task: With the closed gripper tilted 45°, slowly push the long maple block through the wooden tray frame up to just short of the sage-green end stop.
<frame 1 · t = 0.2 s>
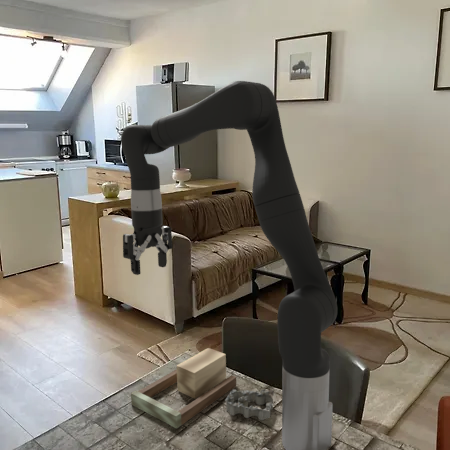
hand: (149, 270, 117), 29 cm above the table, tool pointing down, fingers open, 8 cm apart
maple block: (202, 384, 118), on the table
egg carton: (249, 411, 107), on the table
wooden tray frame: (187, 393, 113), on the table
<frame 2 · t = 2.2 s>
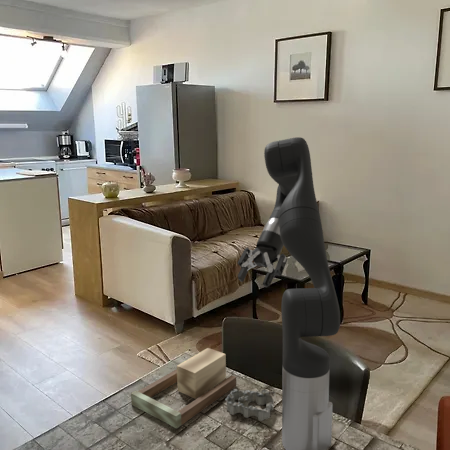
hand: (252, 283, 131), 21 cm above the table, tool tilted 45°, fingers open, 8 cm apart
nothing on the table moved.
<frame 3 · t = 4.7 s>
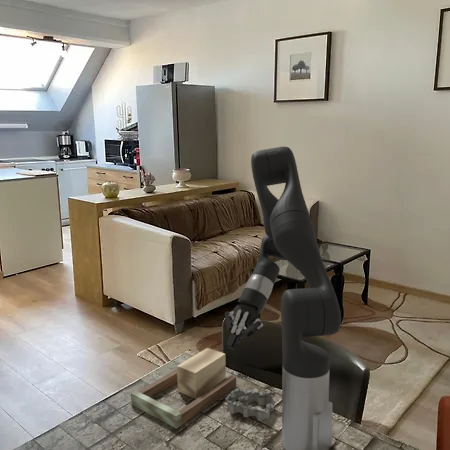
hand: (230, 348, 125), 5 cm above the table, tool tilted 45°, fingers closed
nothing on the table moved.
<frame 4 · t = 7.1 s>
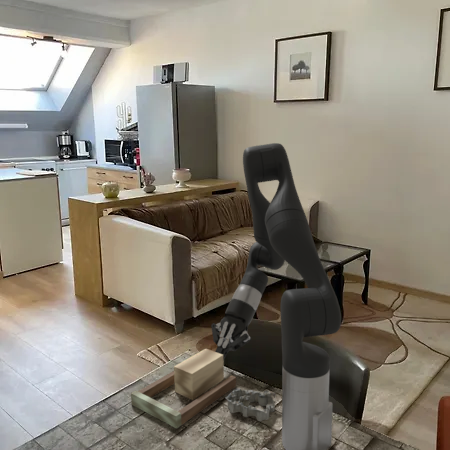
hand: (216, 361, 121), 4 cm above the table, tool tilted 45°, fingers closed
maple block: (200, 385, 117), on the table, touching gripper
everything else where it was.
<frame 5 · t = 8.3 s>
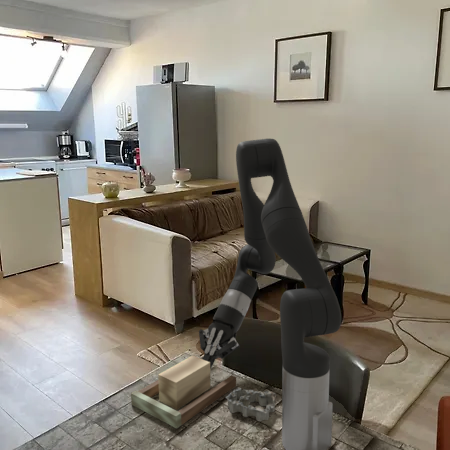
hand: (203, 369, 117), 4 cm above the table, tool tilted 45°, fingers closed
maple block: (185, 394, 113), on the table, touching gripper
everything else where it was.
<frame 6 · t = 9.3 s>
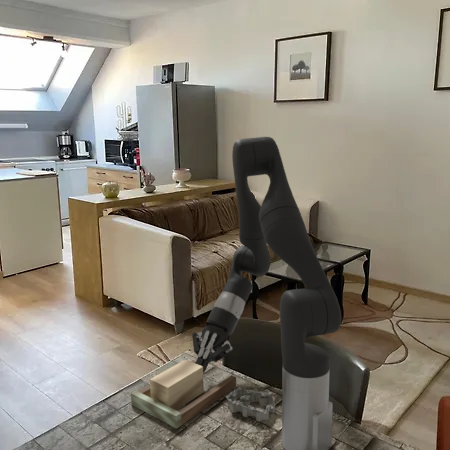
hand: (197, 373, 115), 4 cm above the table, tool tilted 45°, fingers closed
maple block: (178, 399, 111), on the table, touching gripper
everything else where it was.
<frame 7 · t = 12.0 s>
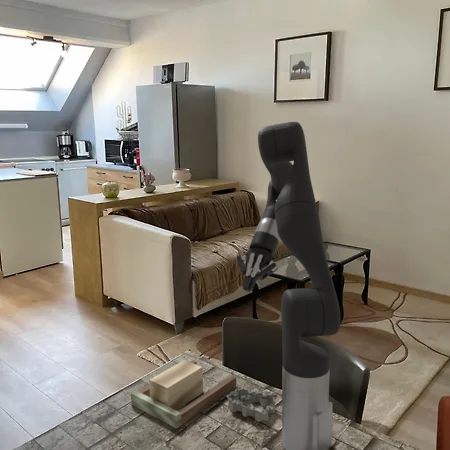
hand: (246, 290, 127), 20 cm above the table, tool tilted 40°, fingers closed
maple block: (177, 399, 111), on the table
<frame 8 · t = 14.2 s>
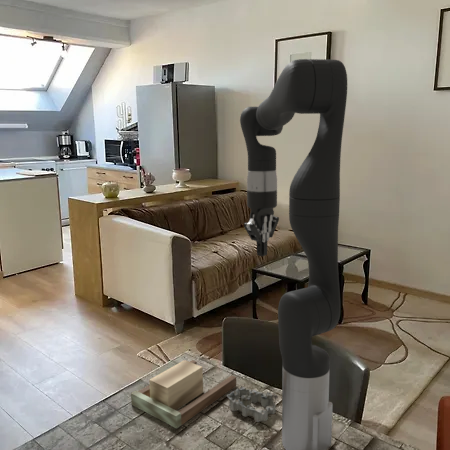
hand: (262, 255, 118), 32 cm above the table, tool pointing down, fingers closed
at the end: maple block inside the target area (1.4 cm from its centre), on the table; maple block tilted 0°; maple block moved 8.6 cm from its start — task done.
